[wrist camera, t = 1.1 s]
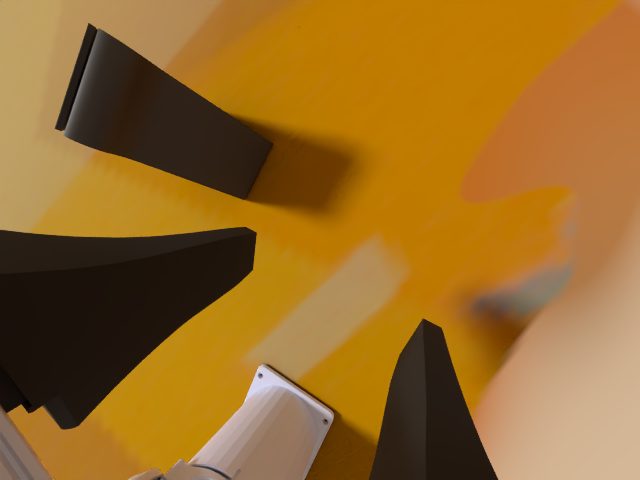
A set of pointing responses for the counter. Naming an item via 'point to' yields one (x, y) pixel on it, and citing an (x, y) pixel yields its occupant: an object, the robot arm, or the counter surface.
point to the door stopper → (156, 119)
